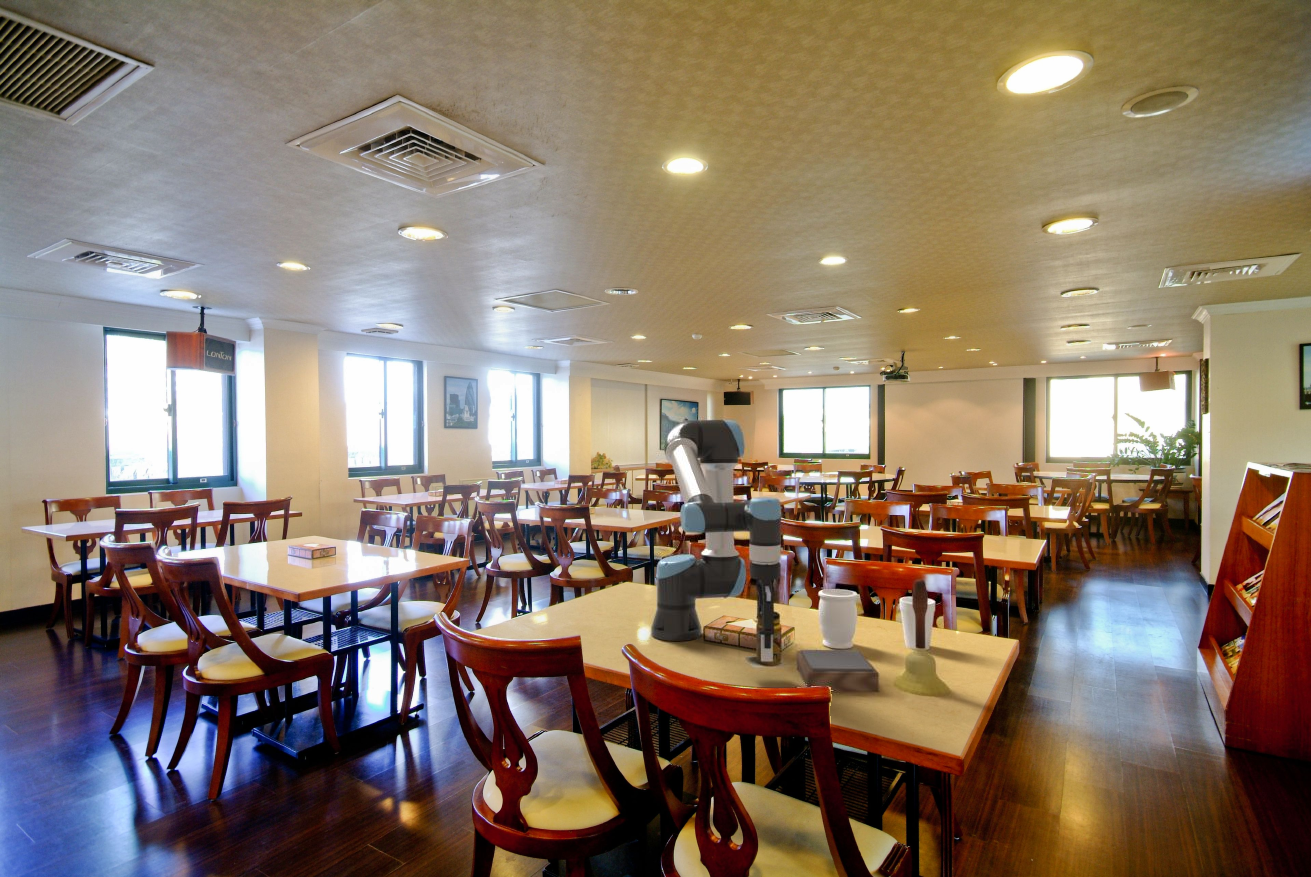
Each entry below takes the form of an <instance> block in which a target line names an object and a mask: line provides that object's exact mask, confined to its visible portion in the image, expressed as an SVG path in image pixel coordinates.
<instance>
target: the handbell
mask: <svg viewBox="0 0 1311 877" xmlns="http://www.w3.org/2000/svg"><path fill="white" fill-rule="evenodd" d="M911 595H912V596H911V597H912V605H913V610H914V613H915V638H916V647H915V649H913V651H911V652H909V653H908V654H907V655H906V657H905V664H904V665H905V670H904V672H902V673H901V674H900V675H899V676H897V677H896V678H895V679H894V681H893V683H892V684H893V686H894V687H895V688H896V689H897V690H900V691H902V692H904V693H908V694H911V695H916V696H924V697H925V696H926V697H937V696H943V695H946V694H948V693H949V692H950V689H949V686H948V685H947V683H945V681H943V680H942V679H941V678H940V677H939V676H938V674H937V665H936V664H937V663H936V659H935V657H934V656H933V655H932V654H930V653H929V652H928V650H926V648H925V615H926V612H927V608H928V599H929V598H928V590H927V586H926V581H925V580H923V579H915V580H914V583H913V589H912V593H911Z"/></svg>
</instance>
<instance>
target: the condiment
mask: <svg viewBox="0 0 1311 877" xmlns="http://www.w3.org/2000/svg"><path fill="white" fill-rule="evenodd" d="M780 619H781V614H780V613H779V612H777V611H775V610H774V634H773V661H761V635H759V632H762V614H761V612H759V614H758V619H757V621H758V622H757V623H756V632H755V633H756V640H755V641H756V643H755V644H756V648H755V649H756V650H755V651H756V652H755V654H756V655H755V656H744V657H743V658H744V660H745V661H747V663H748V664H749V665H751V667H753V668H754V669H759V668H773V667H774V668H775V667H786V666H788V664H787V663H785V661H783V660H782V650H783V649H782V648H783V647H782V624H781V620H780Z"/></svg>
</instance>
